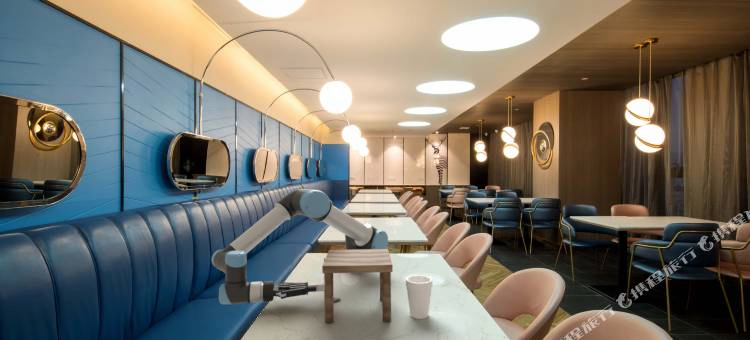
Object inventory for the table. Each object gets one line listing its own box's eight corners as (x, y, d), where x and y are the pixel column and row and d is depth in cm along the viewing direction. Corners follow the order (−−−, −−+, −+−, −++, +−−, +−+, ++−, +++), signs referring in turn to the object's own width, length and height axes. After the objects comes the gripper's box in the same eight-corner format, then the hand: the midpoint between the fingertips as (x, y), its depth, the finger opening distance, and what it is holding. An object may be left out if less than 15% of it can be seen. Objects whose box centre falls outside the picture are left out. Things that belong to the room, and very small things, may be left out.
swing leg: (333, 317, 127) (333, 271, 126) (324, 317, 126) (324, 271, 126) (331, 297, 146) (331, 257, 146) (324, 298, 145) (323, 257, 145)
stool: (328, 298, 147) (328, 249, 147) (388, 297, 148) (387, 248, 147) (321, 324, 122) (320, 266, 122) (392, 322, 123) (392, 264, 123)
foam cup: (417, 307, 136) (417, 273, 136) (437, 314, 129) (437, 279, 129) (400, 315, 129) (400, 279, 129) (421, 323, 123) (420, 285, 123)
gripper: (264, 295, 144) (323, 291, 149) (261, 307, 131) (325, 302, 136) (264, 276, 144) (323, 273, 149) (260, 287, 131) (325, 282, 136)
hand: (324, 287), depth 142 cm, fingers closed
